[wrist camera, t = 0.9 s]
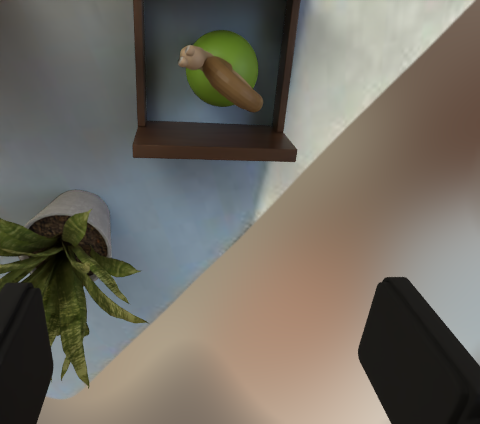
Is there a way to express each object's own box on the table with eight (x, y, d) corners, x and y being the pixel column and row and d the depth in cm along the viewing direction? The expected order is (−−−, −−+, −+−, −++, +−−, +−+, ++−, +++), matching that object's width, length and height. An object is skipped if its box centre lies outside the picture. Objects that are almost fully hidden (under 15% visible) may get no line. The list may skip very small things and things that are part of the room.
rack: (134, -35, 29) (124, -44, 23) (296, -19, 31) (323, -23, 25) (140, 131, 35) (132, 157, 29) (277, 136, 36) (295, 162, 31)
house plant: (-52, 219, 36) (-204, 366, 21) (35, 101, 32) (-77, 184, 18) (88, 297, 42) (42, 453, 27) (175, 204, 38) (175, 328, 24)
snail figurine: (199, 3, 31) (211, 6, 20) (264, 56, 33) (306, 82, 23) (161, 65, 32) (154, 97, 22) (226, 110, 35) (248, 159, 24)
